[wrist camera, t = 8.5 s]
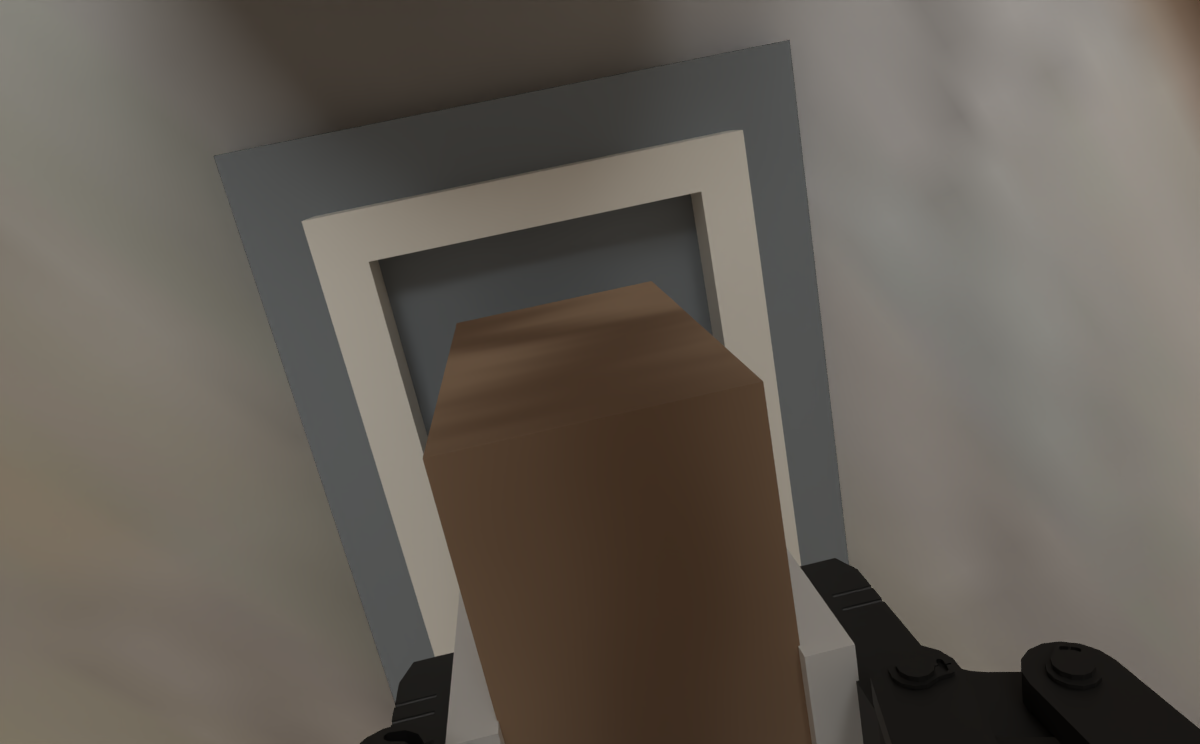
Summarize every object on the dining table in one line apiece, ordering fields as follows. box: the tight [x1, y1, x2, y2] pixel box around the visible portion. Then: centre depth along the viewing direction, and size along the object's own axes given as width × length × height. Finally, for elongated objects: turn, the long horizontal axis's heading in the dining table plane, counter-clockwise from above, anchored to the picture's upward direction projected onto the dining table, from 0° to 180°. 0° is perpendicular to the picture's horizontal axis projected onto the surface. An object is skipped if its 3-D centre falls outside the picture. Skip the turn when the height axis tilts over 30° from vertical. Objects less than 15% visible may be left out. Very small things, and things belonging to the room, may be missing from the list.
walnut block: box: [423, 281, 812, 744], centre depth 16 cm, size 4×11×8 cm, turn 11°
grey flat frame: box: [214, 40, 849, 702], centre depth 22 cm, size 20×14×2 cm
